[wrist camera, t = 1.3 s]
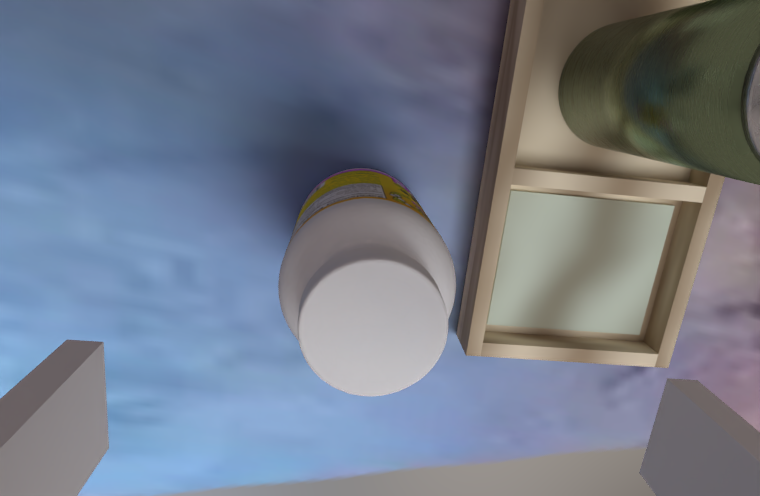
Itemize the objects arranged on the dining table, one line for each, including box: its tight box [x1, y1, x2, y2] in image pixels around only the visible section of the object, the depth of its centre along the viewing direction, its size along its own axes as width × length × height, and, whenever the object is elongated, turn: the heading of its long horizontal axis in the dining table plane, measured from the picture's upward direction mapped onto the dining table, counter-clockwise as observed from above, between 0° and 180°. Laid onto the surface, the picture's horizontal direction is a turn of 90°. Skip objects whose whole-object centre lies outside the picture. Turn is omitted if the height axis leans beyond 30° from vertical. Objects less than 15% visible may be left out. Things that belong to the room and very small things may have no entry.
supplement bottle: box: [279, 168, 456, 396], centre depth 22 cm, size 7×7×13 cm
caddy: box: [457, 0, 725, 368], centre depth 26 cm, size 12×29×2 cm, turn 174°
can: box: [558, 0, 760, 185], centre depth 20 cm, size 6×6×12 cm
